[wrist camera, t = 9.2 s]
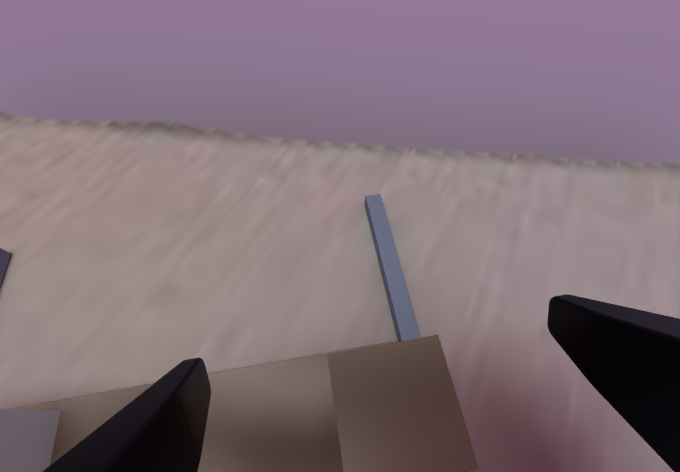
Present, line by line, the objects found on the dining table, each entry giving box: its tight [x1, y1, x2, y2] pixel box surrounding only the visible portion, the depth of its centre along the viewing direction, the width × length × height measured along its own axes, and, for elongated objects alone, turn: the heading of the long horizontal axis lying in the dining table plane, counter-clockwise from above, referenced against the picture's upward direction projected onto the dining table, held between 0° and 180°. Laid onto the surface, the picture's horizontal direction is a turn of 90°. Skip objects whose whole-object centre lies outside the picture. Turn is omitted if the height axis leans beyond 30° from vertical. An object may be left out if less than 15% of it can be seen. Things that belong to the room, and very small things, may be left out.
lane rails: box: [0, 194, 420, 342], centre depth 18 cm, size 17×25×1 cm
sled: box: [12, 335, 478, 472], centre depth 12 cm, size 6×22×10 cm, turn 100°
